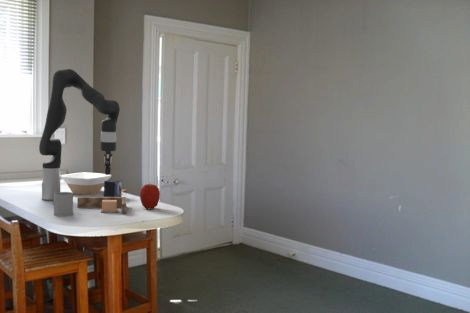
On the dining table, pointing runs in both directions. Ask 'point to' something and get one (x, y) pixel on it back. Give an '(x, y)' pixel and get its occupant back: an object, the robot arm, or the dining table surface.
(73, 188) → the bowl
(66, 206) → the cup
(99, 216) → the dining table surface
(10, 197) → the dining table surface
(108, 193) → the small box
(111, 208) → the block
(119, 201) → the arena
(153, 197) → the apple
